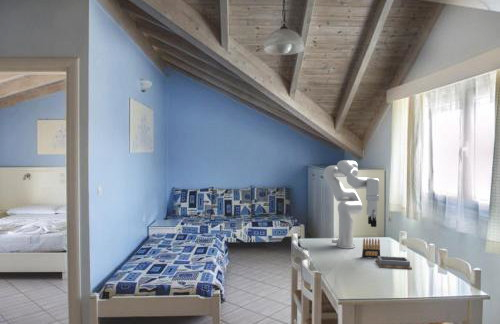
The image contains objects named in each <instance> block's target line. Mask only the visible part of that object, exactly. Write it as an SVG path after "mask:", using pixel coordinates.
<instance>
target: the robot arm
mask: <svg viewBox="0 0 500 324" xmlns="http://www.w3.org/2000/svg"><path fill="white" fill-rule="evenodd" d="M358 165H359V164H358V163H357V162H356V161H355V160H351V159H350V160H348V159H347V160H346V159H343V160H339V161H338V162H337V164H335V165H329V166H327V167H325V169H324V179H325V181H326V183H327V184H328V186H329V187H330V189H331V192H332V195H333V196H334V199H335V200H336V201H337V202H339V203H338V205H337V212H338V238H337V239H336V240H335V239H331V243H333V244H335V246H336V247H337V248H340V249H348V250H349V249H355V247H356V246H355V244H354V240H353V239H354V220H353V218H352V217H351V216H353V215H360V214H362V213H363V211H364V210H363V203H362V202H361V199H360V197H359V195H358V193H357V192H356V190H365V201H367V202H366V215H367V216H368V217H367V224H368V225H370V227H372V228H377V216H378V201H379V199H380V180H379V178H377V177H375V178H374V177H369V176H368V177H367V176H359V177H358V174H359V171H358V168H359V166H358ZM344 177H345V178H346V182H347V184H348V185H349V186H350V187H351V188H350V187H349V188H348V187H347V188H346V187H344V185H343V183H342V182H341V181H340V179H338V178H344Z"/></svg>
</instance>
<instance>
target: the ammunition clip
mask: <svg viewBox="0 0 500 324" xmlns="http://www.w3.org/2000/svg"><path fill="white" fill-rule="evenodd" d="M380 244H381V243H380V238H378V239H377V238H375V239H374V238H372V239H371V238H369V239H368V238H366V239H365V238H363V241H362V252H361V253H362V254H361V257H362V258H368V257H371V258H374V259H378V256H381V245H380Z"/></svg>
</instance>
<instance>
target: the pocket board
mask: <svg viewBox="0 0 500 324" xmlns="http://www.w3.org/2000/svg"><path fill="white" fill-rule="evenodd" d="M375 262H376V263H377V264H378V266H379V268H382V269H383V268H384V269H398V270H399V269H402V270H403V269H404V270H412V269H413V267H412V266H411V261H410V260H409V259H408V258H407V257H404V256H385V255H384V256H382V255H380V256H378V258H375Z"/></svg>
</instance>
